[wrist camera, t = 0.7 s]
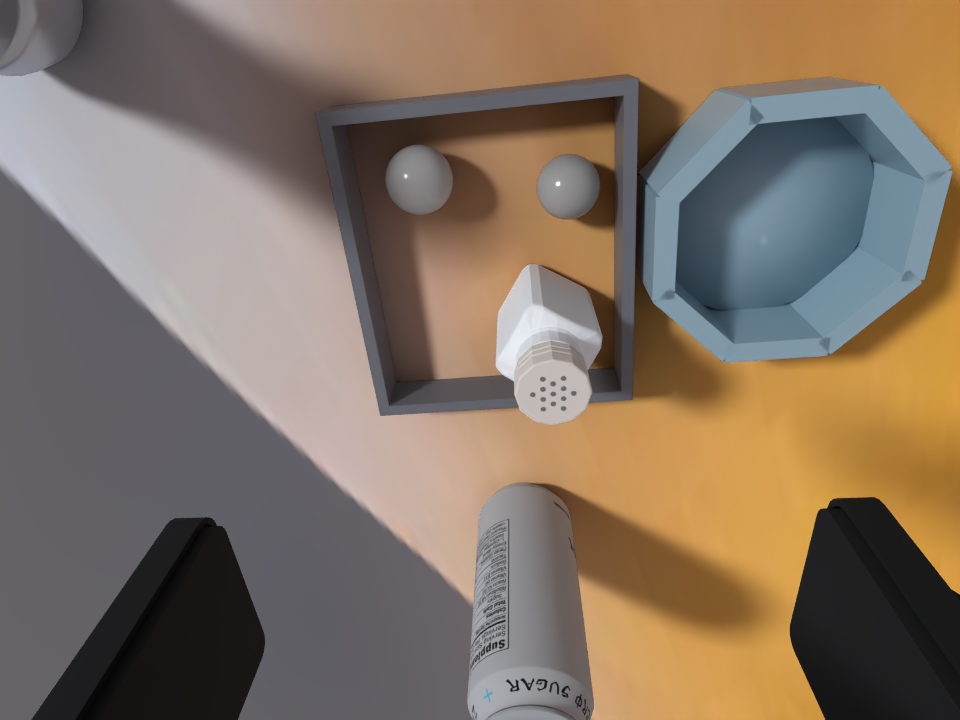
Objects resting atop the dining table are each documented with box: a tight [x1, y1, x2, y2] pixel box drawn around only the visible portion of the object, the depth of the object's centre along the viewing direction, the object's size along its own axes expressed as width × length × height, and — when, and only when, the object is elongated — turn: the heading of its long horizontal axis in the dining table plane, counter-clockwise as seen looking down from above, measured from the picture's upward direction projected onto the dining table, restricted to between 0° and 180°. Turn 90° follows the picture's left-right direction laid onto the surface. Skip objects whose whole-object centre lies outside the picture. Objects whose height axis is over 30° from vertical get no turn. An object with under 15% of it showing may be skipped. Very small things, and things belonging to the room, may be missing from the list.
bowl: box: [635, 77, 953, 363], centre depth 29 cm, size 12×12×4 cm
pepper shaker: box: [496, 264, 602, 425], centre depth 29 cm, size 4×4×10 cm
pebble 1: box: [386, 145, 453, 215], centre depth 29 cm, size 3×3×3 cm
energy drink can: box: [467, 483, 594, 720], centre depth 34 cm, size 6×6×15 cm
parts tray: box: [315, 74, 639, 416], centre depth 31 cm, size 16×14×3 cm
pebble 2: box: [537, 154, 600, 220], centre depth 29 cm, size 3×3×3 cm
